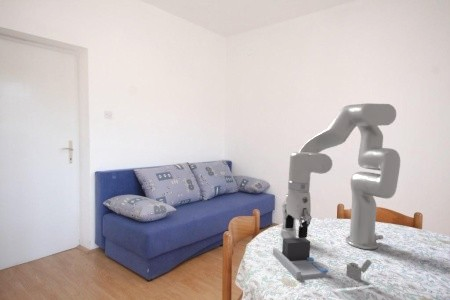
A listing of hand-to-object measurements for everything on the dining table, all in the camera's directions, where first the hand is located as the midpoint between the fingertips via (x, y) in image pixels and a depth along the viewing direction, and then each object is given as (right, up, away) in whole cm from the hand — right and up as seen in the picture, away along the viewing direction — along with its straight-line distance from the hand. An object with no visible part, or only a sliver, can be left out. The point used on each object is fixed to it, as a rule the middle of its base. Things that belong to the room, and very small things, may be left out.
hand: (295, 232), depth 98 cm
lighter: (+17, -12, -12) cm, 24 cm away
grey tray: (0, -11, -4) cm, 11 cm away
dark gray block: (0, -10, +1) cm, 10 cm away
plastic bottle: (+2, -10, +21) cm, 23 cm away
